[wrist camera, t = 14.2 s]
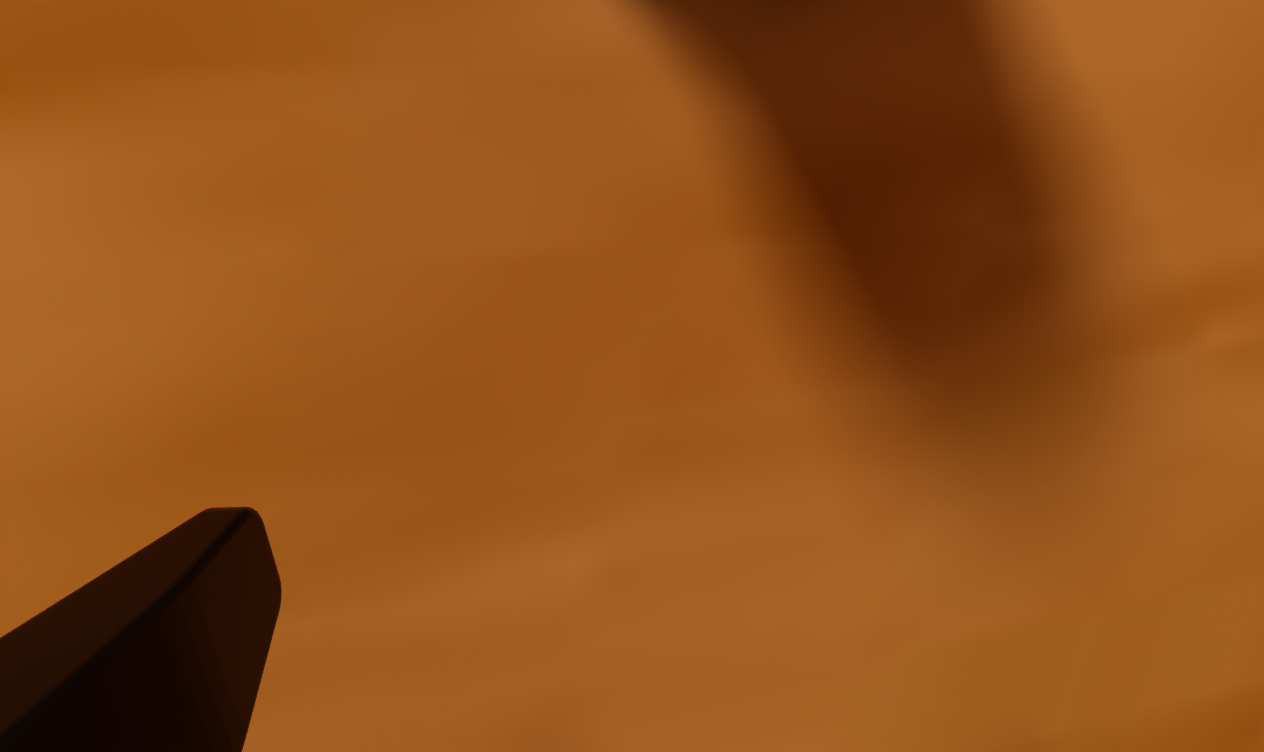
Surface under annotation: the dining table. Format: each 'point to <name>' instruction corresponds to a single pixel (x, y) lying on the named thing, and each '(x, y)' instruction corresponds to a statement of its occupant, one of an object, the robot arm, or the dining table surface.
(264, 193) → the dining table surface
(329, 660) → the dining table surface
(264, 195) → the dining table surface
